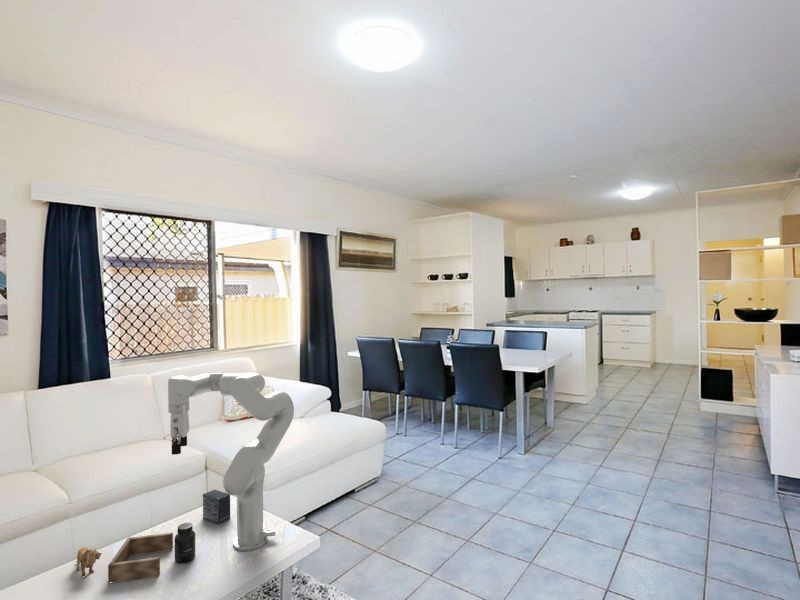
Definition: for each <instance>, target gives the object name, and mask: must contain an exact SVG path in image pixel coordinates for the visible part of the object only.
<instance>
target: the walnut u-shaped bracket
mask: <svg viewBox="0 0 800 600" xmlns="http://www.w3.org/2000/svg"><path fill="white" fill-rule="evenodd" d="M172 549H174V532H166V533H158V534H150V535H149V534H148V535H139V536H131V537H127V539H126V540H125V541H124V543H123V544H122V545H121V546H120V549H119V550H118V551H117V553H116V554H115V555H114V557H113V558H112V560H111V561H110V562H109V564H108V565H107V566H108V567H107V569H108V571H107V575H108V583H110V582H117V583H122V582H123V581H124V582H130V581H137V580H145V579H152V578H159V577H160V575H161V564H160V563H161V558H160V556H156V557H147V558H141V559H134V560H129V559H130V557H131V556H134V555H135V556H136V555H143V554H152V553H159V552H161V553H162V552H168V550H169V551H173V550H172ZM110 584H111V583H110Z"/></svg>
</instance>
